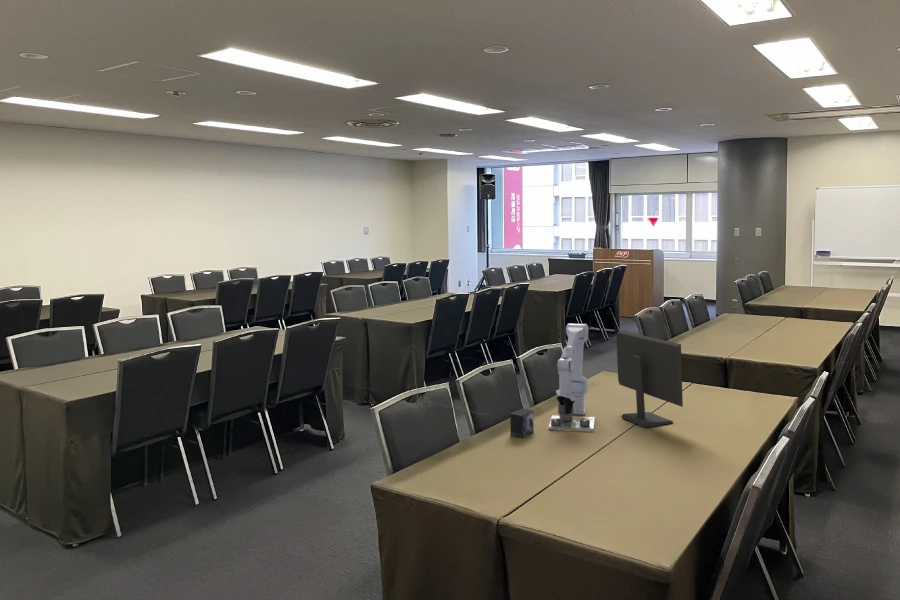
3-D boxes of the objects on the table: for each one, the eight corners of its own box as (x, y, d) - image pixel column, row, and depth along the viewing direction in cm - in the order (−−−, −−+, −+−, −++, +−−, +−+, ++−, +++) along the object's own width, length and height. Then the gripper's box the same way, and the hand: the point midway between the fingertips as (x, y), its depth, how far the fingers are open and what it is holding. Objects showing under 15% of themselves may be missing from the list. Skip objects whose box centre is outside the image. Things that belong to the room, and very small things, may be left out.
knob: (557, 417, 319) (557, 403, 318) (583, 417, 318) (583, 403, 317) (558, 421, 313) (558, 406, 312) (584, 421, 312) (584, 406, 311)
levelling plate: (552, 418, 324) (552, 410, 323) (594, 420, 319) (594, 412, 319) (548, 429, 307) (548, 421, 306) (593, 431, 302) (593, 423, 301)
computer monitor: (693, 431, 298) (694, 342, 293) (663, 436, 292) (664, 346, 288) (632, 407, 338) (632, 328, 334) (605, 411, 333) (605, 331, 328)
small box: (522, 438, 295) (522, 415, 294) (509, 436, 299) (509, 413, 298) (534, 432, 304) (534, 409, 302) (522, 430, 308) (521, 407, 306)
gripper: (550, 381, 319) (550, 409, 320) (566, 388, 305) (566, 417, 307) (563, 380, 321) (563, 407, 323) (579, 386, 308) (579, 415, 309)
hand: (565, 412), depth 315 cm, fingers closed on knob, 3 cm apart
